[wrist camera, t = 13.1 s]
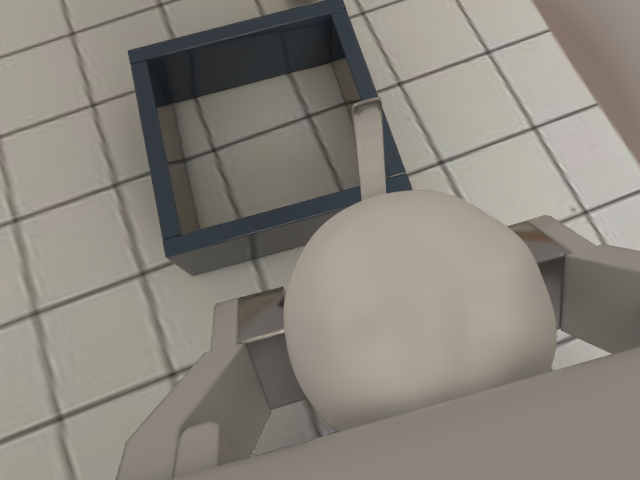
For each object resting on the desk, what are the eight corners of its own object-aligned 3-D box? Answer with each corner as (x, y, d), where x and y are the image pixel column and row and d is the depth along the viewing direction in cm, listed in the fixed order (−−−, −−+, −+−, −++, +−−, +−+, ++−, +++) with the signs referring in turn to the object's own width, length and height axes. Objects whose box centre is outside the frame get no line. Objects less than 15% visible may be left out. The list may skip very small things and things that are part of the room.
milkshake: (409, 244, 17) (509, 60, 7) (464, 394, 15) (691, 423, 5) (288, 280, 16) (220, 139, 7) (331, 435, 15) (322, 541, 5)
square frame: (401, 218, 25) (413, 189, 21) (192, 276, 25) (165, 257, 21) (341, 46, 28) (341, -5, 25) (156, 94, 28) (127, 50, 24)
